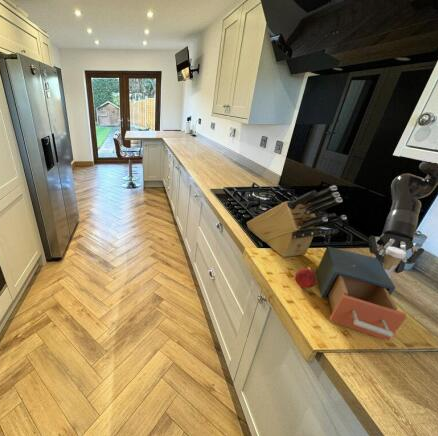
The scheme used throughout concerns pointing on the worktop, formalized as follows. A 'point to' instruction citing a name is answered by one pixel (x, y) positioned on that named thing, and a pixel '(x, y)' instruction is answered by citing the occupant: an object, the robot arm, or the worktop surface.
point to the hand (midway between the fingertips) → (387, 269)
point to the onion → (305, 278)
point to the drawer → (364, 307)
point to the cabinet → (350, 270)
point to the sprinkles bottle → (392, 259)
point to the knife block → (297, 222)
